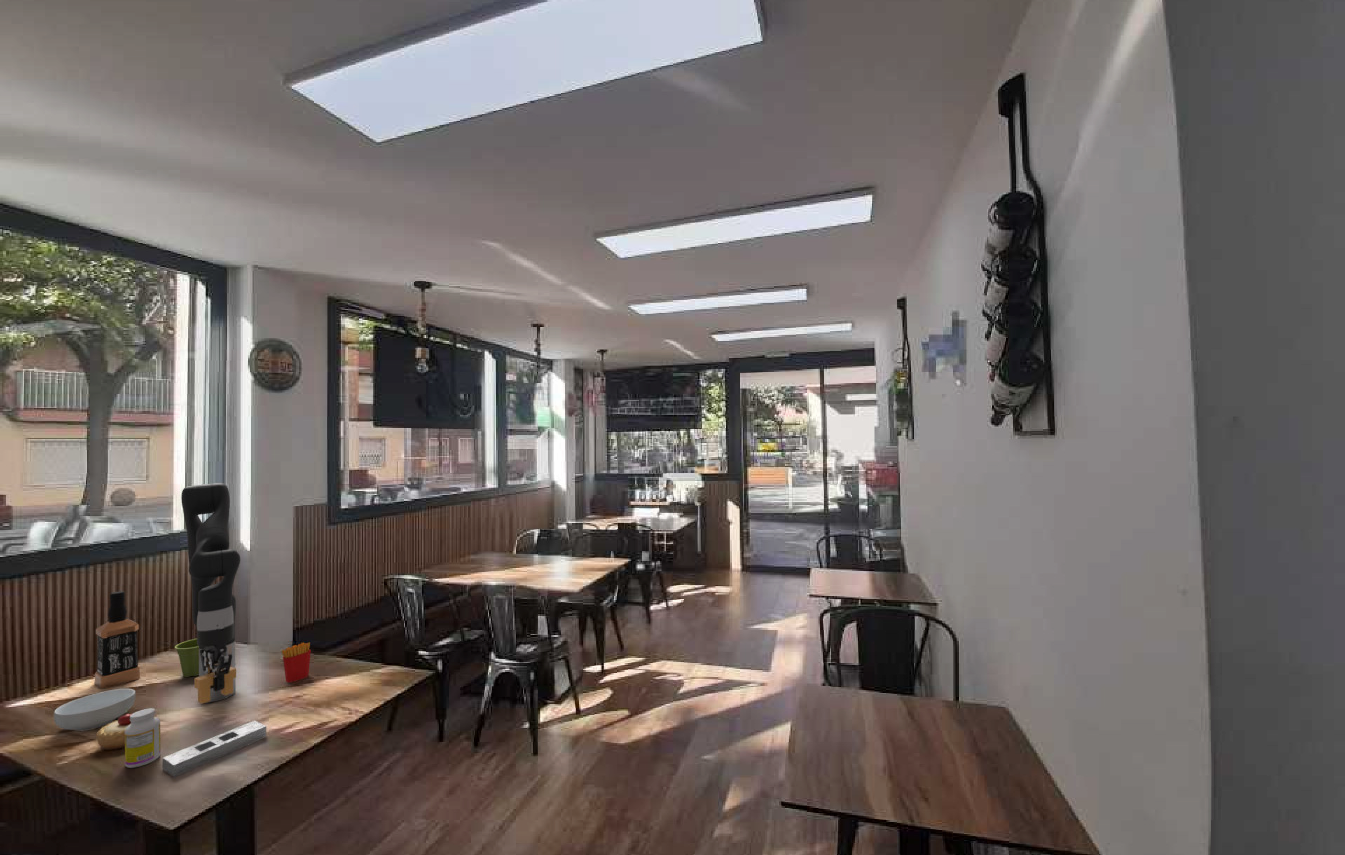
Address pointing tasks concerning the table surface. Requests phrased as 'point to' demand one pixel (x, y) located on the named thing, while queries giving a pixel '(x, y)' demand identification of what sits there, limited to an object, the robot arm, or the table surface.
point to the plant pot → (189, 657)
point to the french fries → (296, 662)
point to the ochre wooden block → (207, 681)
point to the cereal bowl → (94, 710)
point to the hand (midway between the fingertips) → (216, 688)
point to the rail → (213, 748)
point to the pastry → (114, 733)
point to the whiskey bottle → (117, 646)
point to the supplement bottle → (142, 738)
